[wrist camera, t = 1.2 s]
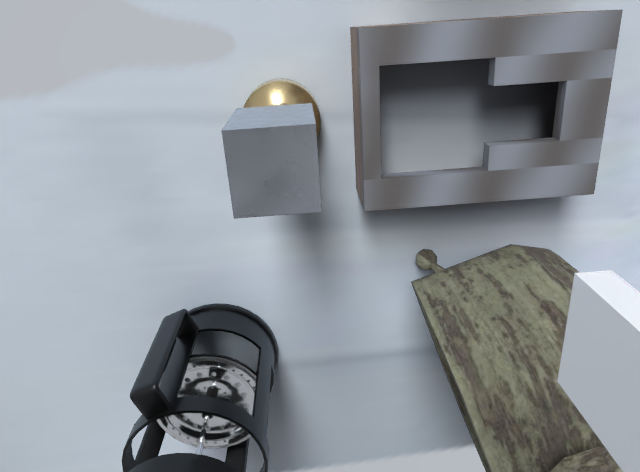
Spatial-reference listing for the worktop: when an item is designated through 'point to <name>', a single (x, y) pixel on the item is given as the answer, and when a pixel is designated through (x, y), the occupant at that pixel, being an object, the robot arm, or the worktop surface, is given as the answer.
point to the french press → (202, 394)
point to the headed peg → (274, 152)
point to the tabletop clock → (510, 357)
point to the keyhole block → (504, 69)
